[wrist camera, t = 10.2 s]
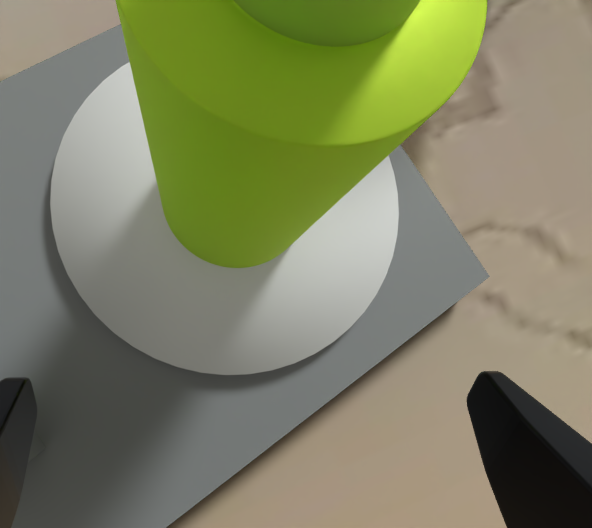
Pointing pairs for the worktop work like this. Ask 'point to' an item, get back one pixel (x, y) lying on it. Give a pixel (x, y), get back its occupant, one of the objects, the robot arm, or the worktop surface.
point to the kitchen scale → (181, 304)
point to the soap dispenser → (283, 105)
